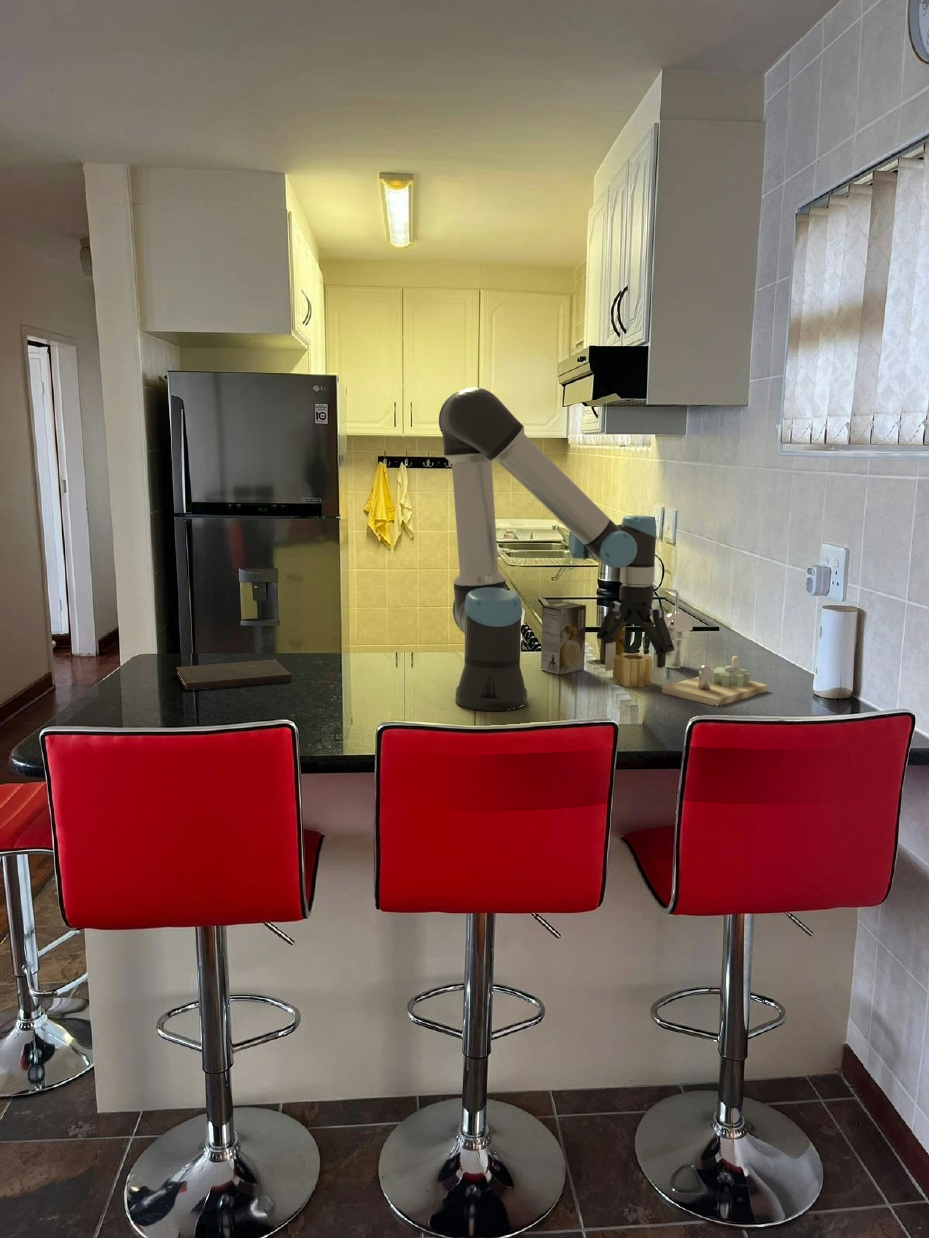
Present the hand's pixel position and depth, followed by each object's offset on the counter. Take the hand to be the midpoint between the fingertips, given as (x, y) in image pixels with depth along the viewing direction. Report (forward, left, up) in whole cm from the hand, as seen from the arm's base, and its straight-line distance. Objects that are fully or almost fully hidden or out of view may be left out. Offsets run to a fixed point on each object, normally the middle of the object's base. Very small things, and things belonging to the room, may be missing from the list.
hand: (632, 675), depth 208 cm
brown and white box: (-4, +18, -2) cm, 19 cm away
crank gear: (+13, -17, 0) cm, 21 cm away
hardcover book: (-70, +59, -2) cm, 92 cm away
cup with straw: (+21, +4, -2) cm, 21 cm away
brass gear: (0, 0, -2) cm, 2 cm away
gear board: (+8, -17, -2) cm, 19 cm away
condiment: (+11, +16, -2) cm, 19 cm away
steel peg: (+3, -17, 0) cm, 17 cm away
